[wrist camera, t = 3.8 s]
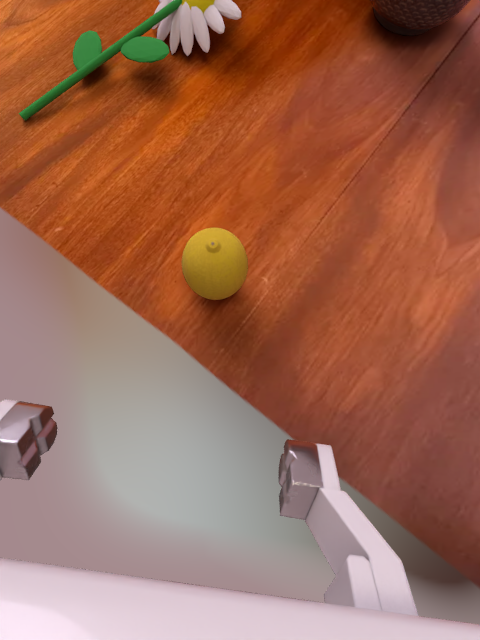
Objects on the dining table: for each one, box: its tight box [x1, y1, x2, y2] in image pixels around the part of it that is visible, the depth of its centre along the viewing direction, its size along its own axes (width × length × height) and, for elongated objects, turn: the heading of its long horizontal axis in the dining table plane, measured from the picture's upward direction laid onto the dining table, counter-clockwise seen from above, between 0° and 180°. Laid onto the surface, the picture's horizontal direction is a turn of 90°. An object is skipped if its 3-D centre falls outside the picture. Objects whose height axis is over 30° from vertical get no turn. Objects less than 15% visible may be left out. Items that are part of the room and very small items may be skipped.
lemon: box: [182, 228, 248, 300], centre depth 27 cm, size 6×6×8 cm
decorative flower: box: [19, 0, 241, 121], centre depth 36 cm, size 13×5×30 cm
